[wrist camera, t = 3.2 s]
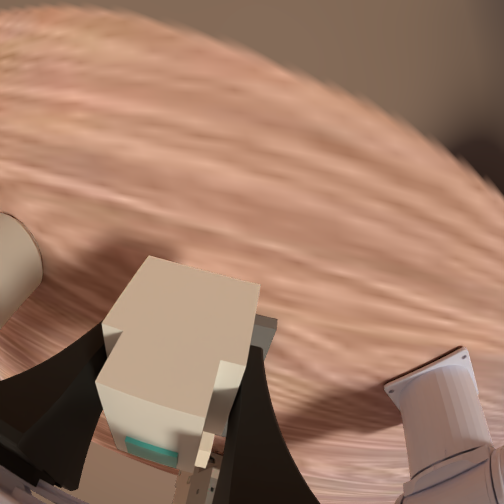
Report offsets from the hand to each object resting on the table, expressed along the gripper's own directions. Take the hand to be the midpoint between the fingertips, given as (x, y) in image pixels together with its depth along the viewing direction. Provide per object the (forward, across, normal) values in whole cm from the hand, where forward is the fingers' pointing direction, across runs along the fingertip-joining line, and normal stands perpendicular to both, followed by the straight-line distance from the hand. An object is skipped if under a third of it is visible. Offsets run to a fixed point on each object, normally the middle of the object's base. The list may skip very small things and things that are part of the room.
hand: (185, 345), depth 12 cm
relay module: (+2, 0, 0) cm, 2 cm away
